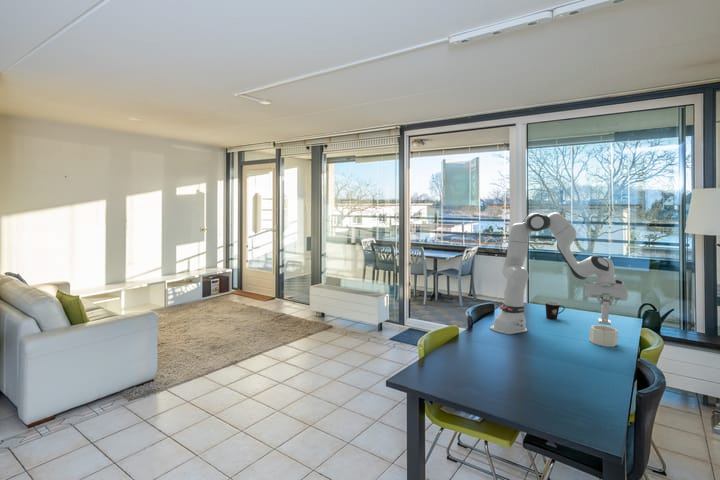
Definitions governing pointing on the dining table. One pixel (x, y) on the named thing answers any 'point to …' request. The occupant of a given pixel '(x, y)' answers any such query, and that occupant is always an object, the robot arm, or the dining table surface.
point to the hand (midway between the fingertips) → (605, 304)
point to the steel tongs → (605, 310)
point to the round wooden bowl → (603, 335)
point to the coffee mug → (552, 310)
